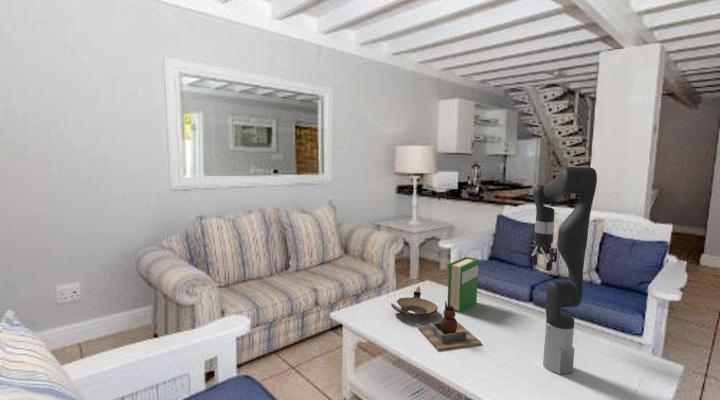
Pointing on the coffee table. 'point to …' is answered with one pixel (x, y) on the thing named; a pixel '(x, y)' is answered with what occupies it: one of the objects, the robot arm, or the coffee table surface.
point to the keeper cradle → (448, 337)
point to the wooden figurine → (448, 320)
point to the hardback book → (463, 283)
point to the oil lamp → (415, 305)
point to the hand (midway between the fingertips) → (541, 267)
